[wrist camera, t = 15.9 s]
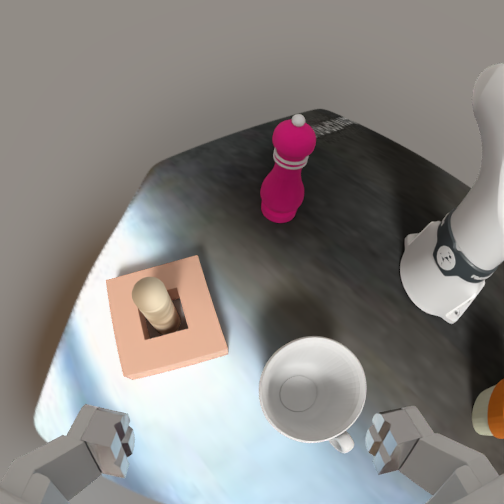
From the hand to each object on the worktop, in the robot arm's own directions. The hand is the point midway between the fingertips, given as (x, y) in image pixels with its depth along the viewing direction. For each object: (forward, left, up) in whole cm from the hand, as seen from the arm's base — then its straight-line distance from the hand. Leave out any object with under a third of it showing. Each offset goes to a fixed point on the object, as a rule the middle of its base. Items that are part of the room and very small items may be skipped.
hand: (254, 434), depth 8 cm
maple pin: (+5, -15, -31) cm, 35 cm away
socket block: (+5, -15, -31) cm, 35 cm away
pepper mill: (-18, -29, -32) cm, 47 cm away
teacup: (-9, +2, -32) cm, 33 cm away
